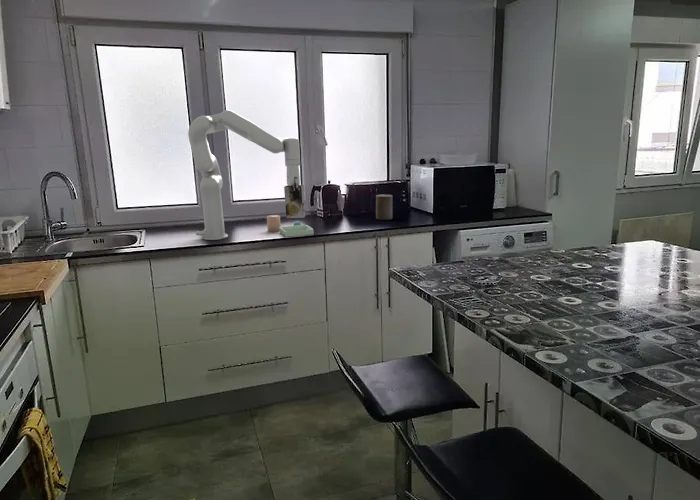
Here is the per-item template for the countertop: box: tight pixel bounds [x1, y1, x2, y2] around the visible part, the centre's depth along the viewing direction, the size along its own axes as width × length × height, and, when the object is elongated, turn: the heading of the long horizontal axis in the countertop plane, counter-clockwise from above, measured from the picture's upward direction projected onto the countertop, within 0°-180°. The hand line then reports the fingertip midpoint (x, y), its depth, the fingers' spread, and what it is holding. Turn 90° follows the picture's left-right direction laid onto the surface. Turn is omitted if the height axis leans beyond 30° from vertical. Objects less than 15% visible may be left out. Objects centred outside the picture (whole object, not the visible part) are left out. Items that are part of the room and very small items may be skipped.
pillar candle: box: [375, 194, 393, 221], centre depth 299 cm, size 10×10×15 cm
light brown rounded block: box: [266, 214, 282, 233], centre depth 272 cm, size 7×7×8 cm
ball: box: [293, 220, 302, 226], centre depth 278 cm, size 4×4×4 cm
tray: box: [279, 224, 315, 239], centre depth 263 cm, size 15×15×3 cm
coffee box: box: [283, 184, 306, 219], centre depth 259 cm, size 9×6×16 cm
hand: (294, 197), depth 259 cm, fingers closed on coffee box, 8 cm apart
